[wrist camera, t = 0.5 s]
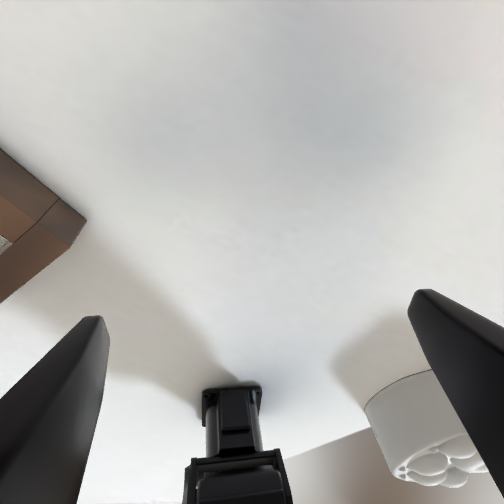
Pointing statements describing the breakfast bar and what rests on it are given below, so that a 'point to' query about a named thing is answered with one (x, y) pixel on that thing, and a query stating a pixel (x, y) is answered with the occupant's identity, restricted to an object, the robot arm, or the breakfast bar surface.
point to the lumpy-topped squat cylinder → (422, 433)
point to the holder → (30, 226)
